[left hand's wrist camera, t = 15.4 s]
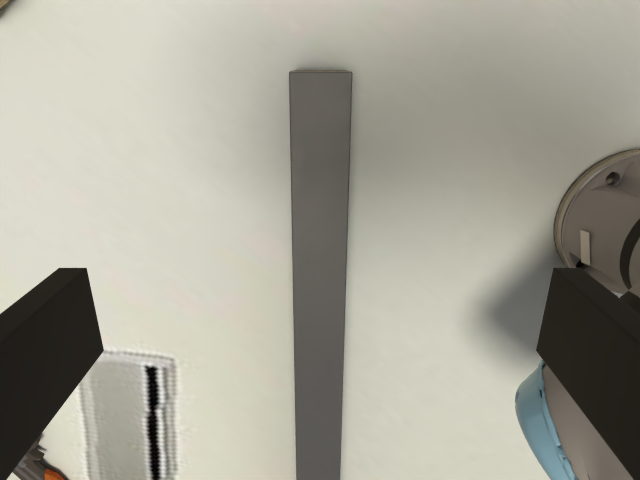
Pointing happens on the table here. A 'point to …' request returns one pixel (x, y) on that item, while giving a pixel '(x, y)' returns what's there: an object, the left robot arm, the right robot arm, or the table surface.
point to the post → (319, 262)
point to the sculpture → (3, 3)
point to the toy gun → (34, 466)
